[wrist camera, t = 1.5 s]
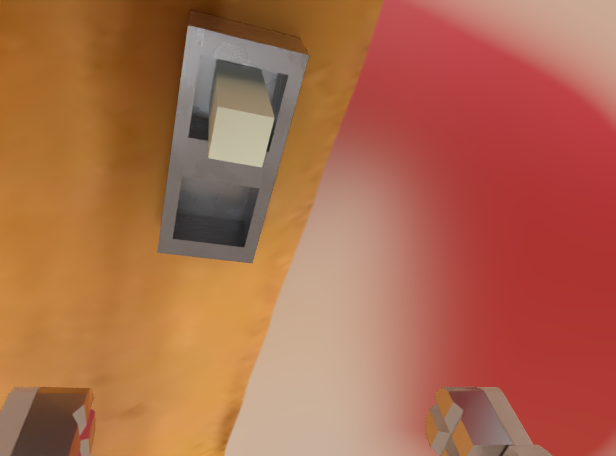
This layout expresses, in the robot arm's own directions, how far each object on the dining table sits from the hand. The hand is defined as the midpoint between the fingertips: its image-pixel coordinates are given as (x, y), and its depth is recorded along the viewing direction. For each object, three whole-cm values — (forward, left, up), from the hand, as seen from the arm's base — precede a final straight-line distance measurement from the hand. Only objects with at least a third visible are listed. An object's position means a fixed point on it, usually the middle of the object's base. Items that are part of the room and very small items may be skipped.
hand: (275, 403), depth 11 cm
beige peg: (+1, 0, -25) cm, 25 cm away
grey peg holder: (+5, -2, -26) cm, 26 cm away
